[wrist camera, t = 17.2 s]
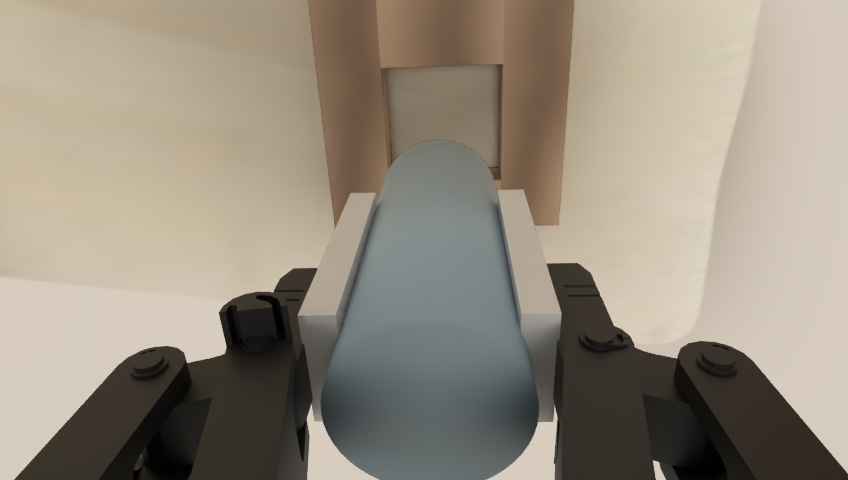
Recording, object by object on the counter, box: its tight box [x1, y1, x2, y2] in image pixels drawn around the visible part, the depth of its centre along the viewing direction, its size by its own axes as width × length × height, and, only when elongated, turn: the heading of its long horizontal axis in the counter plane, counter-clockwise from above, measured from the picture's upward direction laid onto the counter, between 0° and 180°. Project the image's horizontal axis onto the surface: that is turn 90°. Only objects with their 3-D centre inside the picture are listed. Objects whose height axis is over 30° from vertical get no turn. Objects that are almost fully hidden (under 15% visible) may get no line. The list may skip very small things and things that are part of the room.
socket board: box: [308, 0, 574, 228], centre depth 27 cm, size 12×20×2 cm, turn 2°
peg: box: [320, 140, 539, 480], centre depth 15 cm, size 4×4×11 cm
